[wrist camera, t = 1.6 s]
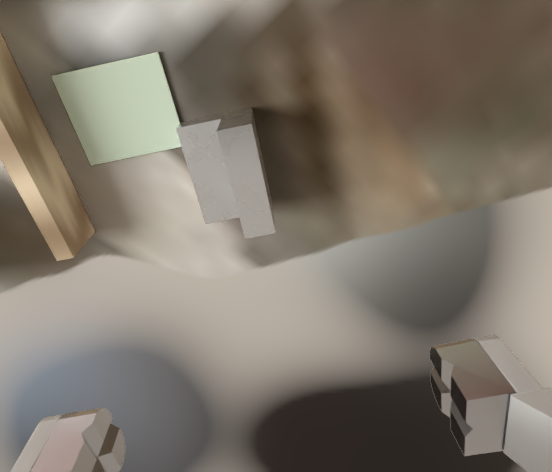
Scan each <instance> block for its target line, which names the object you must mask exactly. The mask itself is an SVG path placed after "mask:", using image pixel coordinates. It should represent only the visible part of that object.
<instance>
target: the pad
mask: <svg viewBox="0 0 552 472" xmlns="http://www.w3.org/2000/svg"><path fill="white" fill-rule="evenodd" d="M51 77H52V79H53V82H54V84H55V86H56V88H57V91H58V93H59V95H60V97H61V100H62V102H63V104H64V107H65V109H66V111H67V113H68V116H69V118H70V120H71V122H72V125H73V127H74V129H75V131H76V134H77V136H78V138H79V140H80V143H81V145H82V147H83V149H84V152H85V154H86V156H87V158H88V161H89V163H90V165H91V166H92V165H97V164H102V163H107V162H111V161H116V160H121V159H125V158H130V157H135V156H140V155H144V154H149V153H154V152H158V151H163V150H168V149H173V148H177V147H181V143H180V140H179V137H178V134H177V131H176V128H177V126H178V125H179V124H180V120H179V117H178V114H177V110H176V107H175V104H174V101H173V98H172V94H171V91H170V88H169V85H168V81H167V78H166V75H165V72H164V69H163V65H162V62H161V59H160V56H159V52H156V53H151V54H147V55H142V56H138V57H133V58H129V59H124V60H120V61H115V62H111V63H106V64H102V65H98V66H93V67H89V68H84V69H80V70H75V71H71V72H66V73H62V74H57V75H53V76H51Z"/></svg>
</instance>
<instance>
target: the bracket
mask: <svg viewBox="0 0 552 472" xmlns="http://www.w3.org/2000/svg"><path fill="white" fill-rule="evenodd" d="M176 131H177V134H178V137H179V140H180V143H181V147H182V150H183V153H184V156H185V159H186V163H187V166H188V169H189V172H190V175H191V178H192V182H193V185H194V188H195V191H196V194H197V198H198V201H199V204H200V207H201V210H202V214H203V217H204V220H205V223H206V224H209V223H214V222H219V221H224V220H229V219H234V218H240V221H241V225H242V229H243V233H244V237H245V239H247V238H252V237H257V236H263V235H268V234H273V233H276V232H275V224H274V215H273V206H272V199H271V194H270V189H269V185H268V180H267V175H266V171H265V166H264V161H263V157H262V152H261V147H260V143H259V138H258V133H257V129H256V124H255V119H254V115H253V110H252V108H247V109H242V110H238V111H233V112H228V113H223V114H219V115H214V116H209V117H204V118H200V119H195V120H190V121H185V122H181V123H180V124H179V125H178V126H177V128H176Z"/></svg>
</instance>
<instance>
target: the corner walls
mask: <svg viewBox="0 0 552 472" xmlns="http://www.w3.org/2000/svg"><path fill="white" fill-rule="evenodd" d="M0 159H1V161H2V163H3V165H4V167H5V168H6V170H7V172H8V174H9V176H10V177H11V179H12V181H13V183H14V185H15V186H16V188H17V190H18V192H19V194H20V195H21V197H22V199H23V201H24V203H25V204H26V206H27V208H28V210H29V212H30V213H31V215H32V217H33V219H34V221H35V222H36V224H37V226H38V228H39V230H40V231H41V233H42V235H43V237H44V239H45V240H46V242H47V244H48V246H49V248H50V249H51V251H52V253H53V255H54V257H55V258H56V260H57V261H61V260H66V259H71V258H74V257H75V256H76V255H77V253H78V252H79V251H80V250H81V248H82V247H83V246H84V245H85V243H86V242H87V241H88V240H89V239H90V237H91V236H92V235H93V234H94V232H95V229H94V227H93V225H92V223H91V221H90V219H89V217H88V215H87V213H86V210H85V208H84V206H83V204H82V202H81V200H80V198H79V196H78V194H77V192H76V190H75V187H74V185H73V183H72V181H71V179H70V177H69V175H68V173H67V171H66V169H65V166H64V164H63V162H62V160H61V158H60V156H59V154H58V152H57V150H56V148H55V146H54V143H53V141H52V139H51V137H50V135H49V133H48V131H47V129H46V127H45V125H44V123H43V120H42V118H41V116H40V114H39V112H38V110H37V108H36V106H35V104H34V102H33V99H32V97H31V95H30V93H29V91H28V89H27V87H26V85H25V83H24V81H23V79H22V76H21V74H20V72H19V70H18V68H17V66H16V64H15V62H14V60H13V58H12V55H11V53H10V51H9V49H8V47H7V45H6V43H5V41H4V39H3V37H2V35H1V32H0Z"/></svg>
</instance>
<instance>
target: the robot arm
mask: <svg viewBox="0 0 552 472" xmlns="http://www.w3.org/2000/svg"><path fill="white" fill-rule="evenodd" d="M430 360H431V361H432V363H433V365H434V367H433V369H432V370H431V371H430V380H431V385H432V390H433V393H434V396H435V399H436V401H437V404H438V406H439V408H440V409H441V411H442V412H443V413H444V414H446V415H447V416H449V417H450V429H451V431H452V433H453V435H454V437H455V439H456V441H457V443H458V445H459V447H460V448H461V450H462V452H463V454H464V456H468V455H475V454H482V453H489V452H497V451H504V453H505V454H506V455H507V456H508V457H510V458H511V459H512V460H513V461H515V462H516V463H517V464H519V465H520V466H521V467H522V468H524V469H525V470H527V472H552V388H542V387H541V385H540V384H539V383H538V382H537V381H536V380H535V379H534V377H533V376H532V375H531V374H530V373H529V371H528V370H527V369H526V368H525V367H524V366H523V364H522V363H521V362H520V361H519V360H518V358H517V357H516V356H515V355H514V354H513V353H512V352H511V350H510V349H509V348H508V347H507V346H506V344H505V343H504V342H503V341H502V340H501V339H500V338H499V337H498V336H496V335H489V336H484V337H479V338H473V339H467V340H463V341H457V342H452V343H447V344H443V345H437V346H432V347H431V349H430ZM112 417H113V416H112V415H111V414H110V412H109V411H108V409H107V408H100V409H94V410H87V411H81V412H74V413H68V414H64V415H58V416H52V417H46V418H44V419H43V420H42V421H40V422H39V423H38V425H37V427H36V429H35V430H34V432H33V434H32V435H31V437H30V439H29V441H28V442H27V444H26V446H25V448H24V449H23V451H22V453H21V455H20V456H19V458H18V460H17V462H16V463H15V465H14V467H13V469H12V470H11V472H119V471H120V469H121V468H122V464H123V461H124V458H125V440H124V436H123V434H122V432H121V430H120V428H118V427H116V426H114V425H112V424H110V423H111V420H112Z"/></svg>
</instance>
